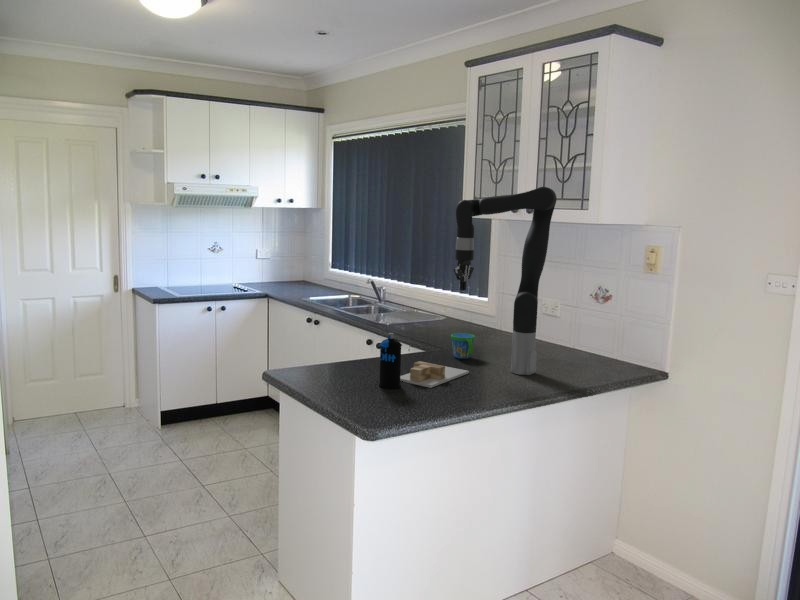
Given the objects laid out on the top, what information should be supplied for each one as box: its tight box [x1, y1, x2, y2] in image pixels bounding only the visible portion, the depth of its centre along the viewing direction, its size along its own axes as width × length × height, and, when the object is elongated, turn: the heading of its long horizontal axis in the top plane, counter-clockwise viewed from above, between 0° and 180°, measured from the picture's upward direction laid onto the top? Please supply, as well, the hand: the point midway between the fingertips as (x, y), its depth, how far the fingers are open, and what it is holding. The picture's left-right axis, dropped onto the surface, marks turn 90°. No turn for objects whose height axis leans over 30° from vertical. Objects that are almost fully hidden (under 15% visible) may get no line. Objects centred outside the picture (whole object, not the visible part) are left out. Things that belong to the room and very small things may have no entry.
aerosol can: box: [378, 332, 403, 390], centre depth 244 cm, size 8×8×20 cm
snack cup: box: [450, 332, 476, 360], centre depth 294 cm, size 16×10×10 cm
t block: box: [409, 360, 445, 382], centre depth 254 cm, size 12×12×4 cm
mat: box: [400, 365, 470, 389], centre depth 261 cm, size 16×28×1 cm, turn 144°
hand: (463, 290), depth 277 cm, fingers closed
